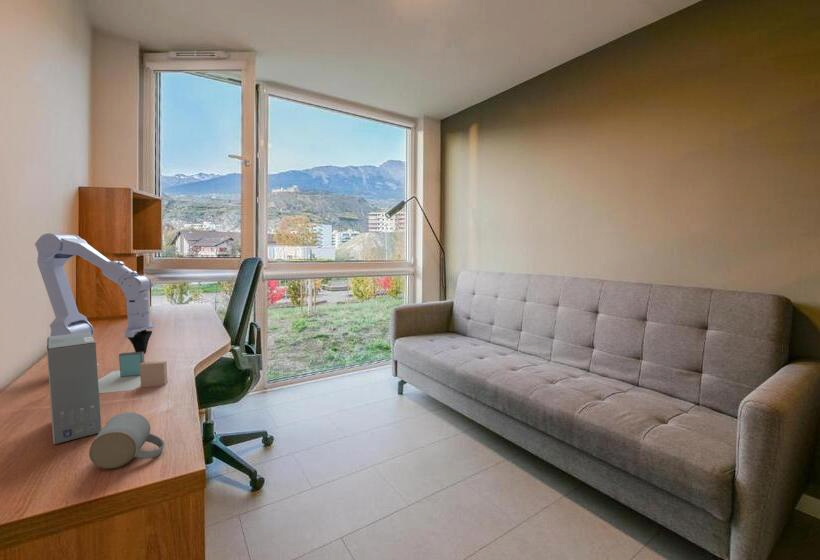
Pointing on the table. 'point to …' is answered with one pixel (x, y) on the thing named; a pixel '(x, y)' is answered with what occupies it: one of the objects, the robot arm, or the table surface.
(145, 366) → the plain tile
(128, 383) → the felt mat
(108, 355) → the table surface
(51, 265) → the robot arm
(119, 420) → the ceramic mug
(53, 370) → the hard drive box
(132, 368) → the glazed tile
